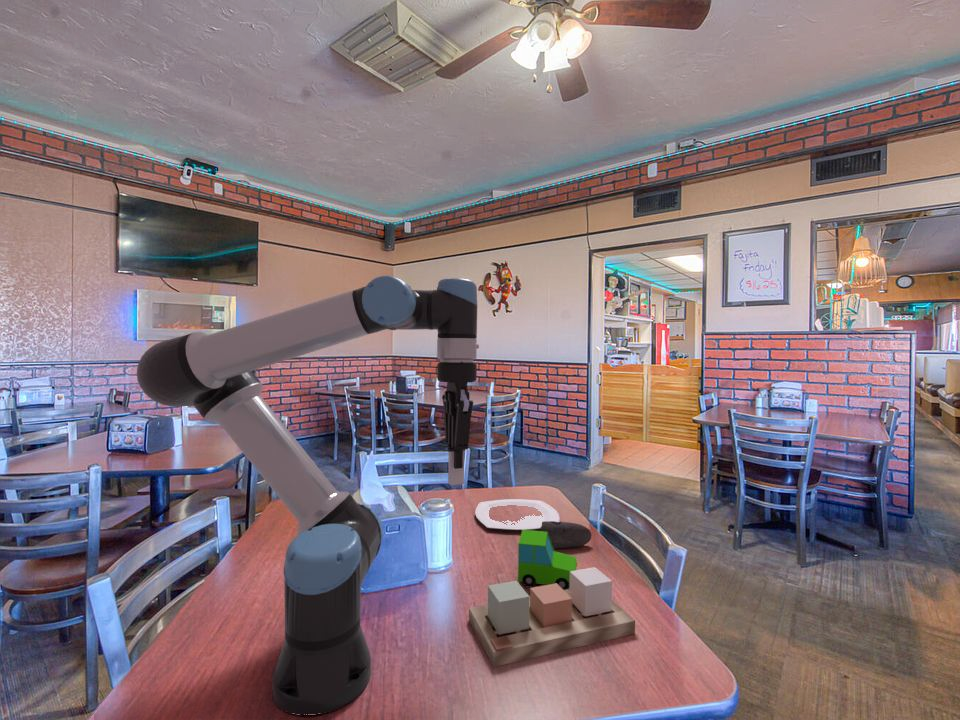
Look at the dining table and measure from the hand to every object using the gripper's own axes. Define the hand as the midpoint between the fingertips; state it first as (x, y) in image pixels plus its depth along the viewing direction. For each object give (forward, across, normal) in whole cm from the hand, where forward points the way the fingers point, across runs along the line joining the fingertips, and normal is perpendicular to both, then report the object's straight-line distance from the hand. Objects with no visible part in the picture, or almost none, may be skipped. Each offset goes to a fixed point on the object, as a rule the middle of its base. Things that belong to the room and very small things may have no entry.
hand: (456, 483), depth 86 cm
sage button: (+26, -5, -9) cm, 28 cm away
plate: (+29, +50, -35) cm, 68 cm away
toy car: (+29, +11, -26) cm, 40 cm away
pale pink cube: (+26, -5, -27) cm, 38 cm away
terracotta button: (+28, -5, -18) cm, 33 cm away
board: (+28, -5, -18) cm, 34 cm away
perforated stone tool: (+29, +26, -39) cm, 55 cm away
